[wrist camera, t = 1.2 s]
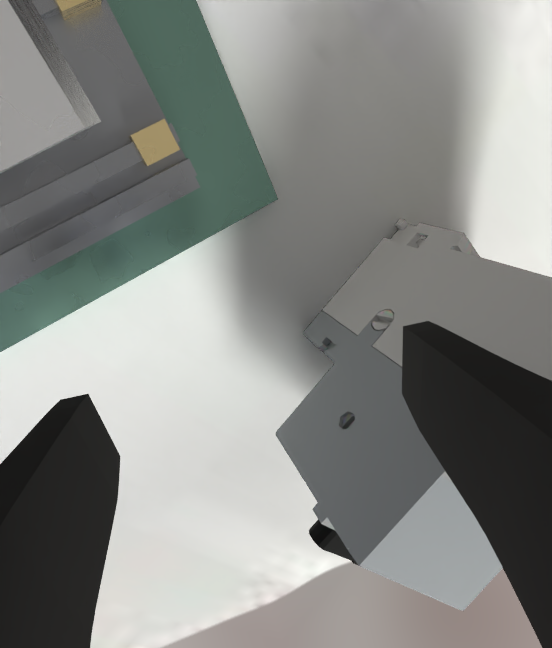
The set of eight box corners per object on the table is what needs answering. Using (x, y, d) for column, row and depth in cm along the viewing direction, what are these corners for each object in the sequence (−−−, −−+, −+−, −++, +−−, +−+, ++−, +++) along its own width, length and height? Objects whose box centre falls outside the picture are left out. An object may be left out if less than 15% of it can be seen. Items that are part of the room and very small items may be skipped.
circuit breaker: (230, 416, 23) (395, 746, 11) (400, 218, 23) (795, 309, 10) (314, 467, 27) (511, 753, 14) (461, 297, 27) (805, 437, 14)
